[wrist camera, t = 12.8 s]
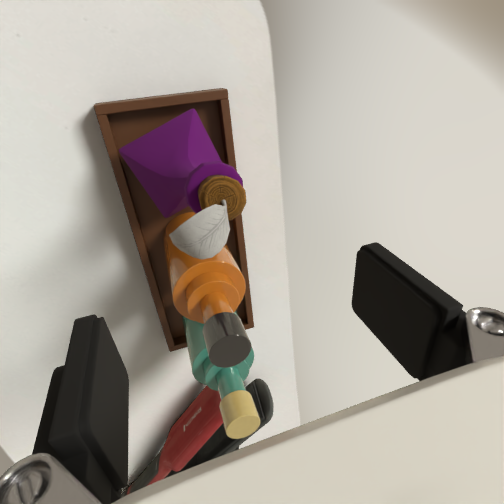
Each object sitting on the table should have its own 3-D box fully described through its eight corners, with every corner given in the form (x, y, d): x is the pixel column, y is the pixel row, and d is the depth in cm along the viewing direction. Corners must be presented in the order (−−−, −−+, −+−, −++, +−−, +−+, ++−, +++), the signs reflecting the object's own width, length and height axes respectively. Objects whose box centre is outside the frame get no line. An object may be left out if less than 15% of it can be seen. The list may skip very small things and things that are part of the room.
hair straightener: (99, 516, 58) (95, 575, 51) (217, 353, 48) (231, 401, 41) (177, 513, 66) (182, 565, 59) (292, 373, 56) (314, 416, 49)
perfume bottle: (188, 103, 31) (242, 137, 16) (224, 172, 35) (293, 251, 20) (118, 142, 30) (104, 214, 15) (162, 207, 34) (185, 313, 20)
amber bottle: (156, 218, 35) (174, 330, 20) (214, 206, 36) (271, 303, 21) (169, 267, 38) (192, 396, 23) (222, 255, 40) (276, 368, 25)
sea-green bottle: (174, 285, 39) (198, 417, 25) (225, 272, 41) (277, 390, 26) (184, 324, 43) (211, 461, 28) (231, 311, 44) (281, 435, 29)
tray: (95, 103, 29) (93, 105, 27) (222, 88, 31) (227, 89, 30) (168, 341, 44) (169, 352, 42) (249, 318, 46) (254, 327, 45)
